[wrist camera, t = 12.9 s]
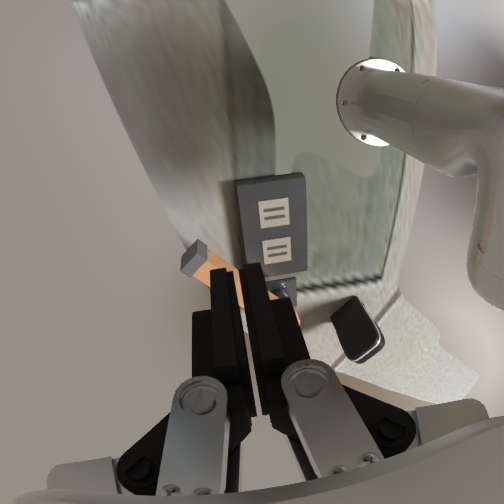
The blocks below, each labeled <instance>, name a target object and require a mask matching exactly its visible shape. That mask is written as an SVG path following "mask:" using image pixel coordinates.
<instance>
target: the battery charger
mask: <svg viewBox="0 0 504 504" xmlns="http://www.w3.org/2000/svg"><path fill="white" fill-rule="evenodd" d="M330 319H331V321H332V323H333V325H334V327H335V330H336V333H337V335H338V338H339V341H340V343H341V346H342V348H343V350H344V353H345V355H346V356H347V358H348V359H349V360H350V361H353V362H355V363H358V364H361V363H364V362H365V361H367V360H368V359H370V358H371V357H372V356H374V355H375V354H376V353H377V352H379V351H380V350H381V349H382V348H383V347H384V344H385V339H384V336H383V334H382V332H381V330H380V328H379V327H378V325H377V323H376V322H374V321H373V319H372V318H371V316H370V314H369V313H368V312H367V310H366V308H365V306H364V304H363V303H362V301H361V299H360V298H359V297H357V296H355V297H354V298H352V299H351V300H350V301H349V302H347V303H346V304H345V305H344V306H343V307H341V308H340V309H339V310H338V311H337V312H336V313H335V314H334V315H332V316H331V318H330Z"/></svg>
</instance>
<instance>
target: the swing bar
mask: <svg viewBox="0 0 504 504" xmlns="http://www.w3.org/2000/svg"><path fill="white" fill-rule="evenodd" d="M225 267H226V270H227V272H228V271H233V273H234V279H235V285H236V291H237V297H238V302H239V306H240V307H242V308H244V303H243V297H242V291H241V284H240V278H239V272H238V269H236V268H235V267H233V266H232V265H231V264H229V263H228V262H226V261H225V260H223V259H222V258H221V257H219V256H218V255H216V254H215V253H213V252H212V251H211V250H209V249H208V248H207V245H206V244H204V243H203V242H201V241H200V240H199V239H197V240H196V241H195V242H194V243H193V245H192V246H191V247H190V248H189V249H188V250H187V251H186V252H185V253H184V254H183V255H182V260H181V272H183V273H185V274H186V275H188V276H189V277H191V276H193V277H195V278H196V279H198V280H199V281H201V282H202V283H204V284H205V285H207V286H209V287H210V270H212V269H219V268H225ZM268 294H269V297H270V300H273V299H279V298H278V297H277V296H275V295H274V294H272V293H271V292H269V291H268ZM292 305H293V308H294V311H295V314H296V317H297V320H298V322H299V325H300V319H299V316H298V313H297V311H296V308H295V306H294V304H292Z"/></svg>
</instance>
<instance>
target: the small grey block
mask: <svg viewBox="0 0 504 504" xmlns="http://www.w3.org/2000/svg"><path fill="white" fill-rule="evenodd" d="M266 286H267V290H268V291H269V292H271V293H272V294H274V295H275V296H277V297H278V298H285V297H290V299H291V302H292V304H294V306H295V307H297V293H296V278H295V277H293V278H287V279H281V280H275V281H269V282H266Z"/></svg>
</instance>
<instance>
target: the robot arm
mask: <svg viewBox="0 0 504 504" xmlns="http://www.w3.org/2000/svg"><path fill="white" fill-rule="evenodd" d="M359 67H360V68H361V69H360V70H359ZM342 101H343V104H341V102H342ZM336 105H337V111H338V115H339V118H340V120H341V122H342V124H343V126H344V127H345V129H346V130H347V131H348V132H349V133H350V135H352V136H353V137H354V138H356V139H357V140H359V141H360V142H362V143H365V144H367V145H371V146H376V147H379V146H387V145H392V146H394V147H396V148H398V149H400V150H401V151H403V152H405V153H407V154H409V155H411V156H412V157H414V158H416V159H418V160H419V161H421V162H423V163H425V164H426V165H428V166H430V167H432V168H433V169H435V170H437V171H439V172H441V173H443V174H445V175H448V176H452V177H467V176H471V175H474V174H477V176H478V179H477V191H476V204H475V212H474V217H473V224H472V229H471V235H470V241H469V247H468V253H467V263H466V264H467V274H468V278H469V281H470V283H471V285H472V287H473V288H474V290H475V291H476V292H477V293H478V294H479V296H481V297H482V298H483V299H484V300H485V301H487V302H488V303H490V304H491V305H493V306H495V307H497V308H499V309H502V310H504V88H498V87H490V86H482V85H477V84H471V83H466V82H461V81H456V80H451V79H445V78H439V77H434V76H428V75H422V74H415V73H407V72H405V71H404V70H403V69H402V68H401V67H399V66H398V65H396V64H395V63H393V62H390V61H388V60H384V59H374V58H372V59H365V60H362V61H360V62H357V63H356V64H354V65H353V66H351V67H350V68H349V69H348V70H347V71H346V72H345V74H344V76H343V77H342V79H341V81H340V83H339V86H338V89H337V95H336ZM361 135H362V137H361ZM238 272H239V278H240V284H241V291H242V297H243V303H244V309H245V315H246V321H247V327H248V333H249V339H250V345H251V351H252V357H253V362H254V369H255V374H256V380H257V385H258V392H259V398H260V403H261V409H262V414H263V415H268V414H269V416H270V421H271V423H272V427H273V428H274V429H276V430H278V431H280V432H281V433H283V434H285V438H286V440H287V443H288V445H289V447H290V450H291V452H292V455H293V457H294V460H295V462H296V465H297V467H298V469H299V472H300V474H301V476H302V479H303V481H304V482H300V483H295V484H290V485H284V486H279V487H273V488H266V489H260V490H253V491H244V492H241V486H242V485H241V484H242V463H243V462H242V461H243V440H244V439H245V438H246V436H247V435H248V434H249V433H250V432H251V426H252V423H251V417H255V416H257V413H256V406H255V400H254V394H253V388H252V381H251V375H250V369H249V363H248V357H247V350H246V344H245V337H244V331H243V325H242V319H241V314H240V308H239V302H238V297H237V291H236V285H235V279H234V273H233V271H228V272H227V270H226V267H225V268H219V269H212V270H210V294H211V309H210V310H203V311H196V312H193V314H192V315H193V316H192V378H191V379H188V380H186V381H185V382H183V383H182V384H181V385H180V386H179V387H178V388H177V390H176V391H175V394H174V397H173V401H172V406H171V412H170V413H169V414H168V415H167V416H166V417H164V418H163V419H162V420H161V421H160V422H159V423H158V424H157V425H156V426H155V427H154V428H152V429H151V430H150V431H149V432H148V433H147V434H146V435H144V436H143V437H142V438H141V439H140V440H139V441H138V442H136V443H135V444H134V445H133V446H132V447H131V448H130V449H129V450H127V451H126V452H125V453H124V454H123V455H122V456H121V457H120V458H115V459H113V458H112V457H106V458H100V459H94V460H88V461H81V462H74V463H66V464H60V465H57V466H55V467H54V468H53V469H51V471H50V473H49V474H48V479H47V487H48V489H45V490H38V491H33V492H29V493H26V494H24V495H21V496H19V497H18V498H16V499H14V500H13V501H12V502H11V503H10V504H504V416H500V417H494V418H489V416H488V413H487V410H486V408H485V406H484V405H483V404H482V403H481V402H480V401H478V400H475V399H463V400H458V401H453V402H448V403H442V404H436V405H430V406H424V407H417V408H415V409H414V411H404V410H402V409H400V408H398V407H395V406H393V405H390V404H388V403H385V402H383V401H380V400H378V399H375V398H373V397H370V396H368V395H366V394H363V393H361V392H358V391H356V390H354V389H351V388H349V387H347V386H344V385H342V384H341V383H340V381H339V379H338V377H337V376H336V374H335V372H334V371H333V370H332V368H331V367H330V366H329V365H327V364H326V363H324V362H322V361H319V360H315V359H310V356H309V353H308V350H307V347H306V344H305V341H304V338H303V335H302V331H301V328H300V325H299V322H298V320H297V317H296V314H295V311H294V308H293V305H292V302H291V299H290V297H285V298H279V299H273V300H270V297H269V294H268V290H267V286H266V282H265V278H264V275H263V271H262V267H261V263H260V262H257V263H251V264H244V269H241V270H238Z"/></svg>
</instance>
